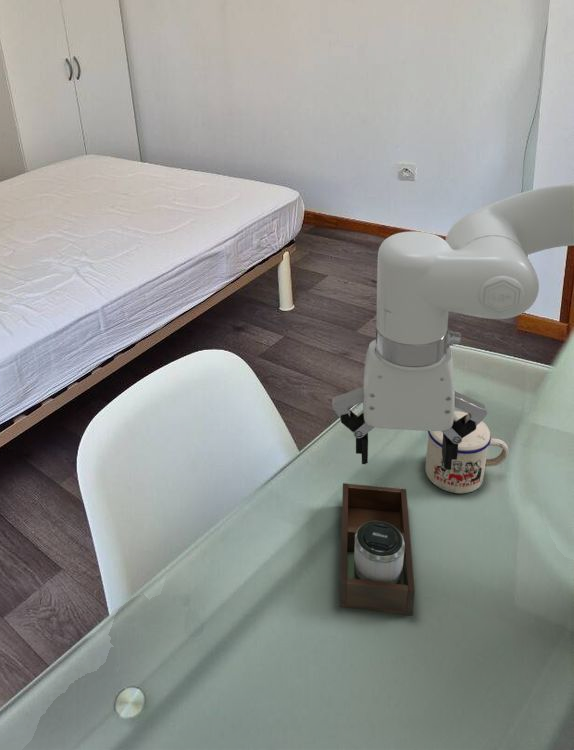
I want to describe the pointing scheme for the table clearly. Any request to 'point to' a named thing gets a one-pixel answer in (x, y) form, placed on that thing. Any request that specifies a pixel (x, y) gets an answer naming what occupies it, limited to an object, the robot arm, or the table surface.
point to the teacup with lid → (462, 459)
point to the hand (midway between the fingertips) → (404, 459)
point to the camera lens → (379, 552)
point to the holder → (356, 511)
